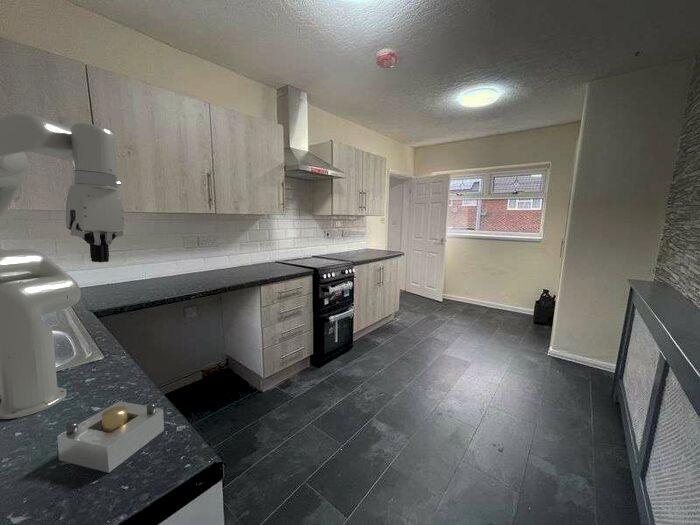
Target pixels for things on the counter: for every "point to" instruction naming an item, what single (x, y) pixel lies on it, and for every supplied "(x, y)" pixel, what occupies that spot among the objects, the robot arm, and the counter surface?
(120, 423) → the brass cylinder
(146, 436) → the jig
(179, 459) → the counter surface
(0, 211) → the robot arm
